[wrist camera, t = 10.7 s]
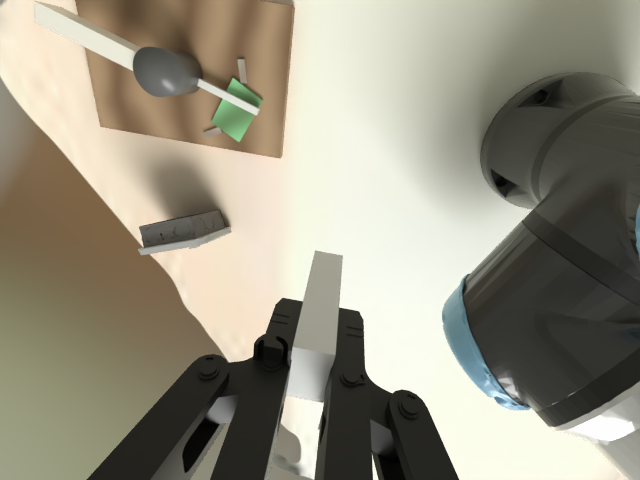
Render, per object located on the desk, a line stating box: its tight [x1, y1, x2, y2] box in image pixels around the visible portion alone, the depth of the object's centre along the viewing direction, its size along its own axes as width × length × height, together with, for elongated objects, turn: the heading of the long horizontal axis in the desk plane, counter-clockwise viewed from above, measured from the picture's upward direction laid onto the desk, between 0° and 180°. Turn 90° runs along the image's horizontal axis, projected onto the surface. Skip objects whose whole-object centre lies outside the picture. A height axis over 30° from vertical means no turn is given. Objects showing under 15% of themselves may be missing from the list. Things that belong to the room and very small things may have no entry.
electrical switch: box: [138, 210, 231, 255], centre depth 42 cm, size 9×5×9 cm, turn 104°
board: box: [75, 0, 295, 158], centre depth 36 cm, size 24×16×2 cm, turn 82°
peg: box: [34, 1, 260, 115], centre depth 32 cm, size 22×4×6 cm, turn 66°
